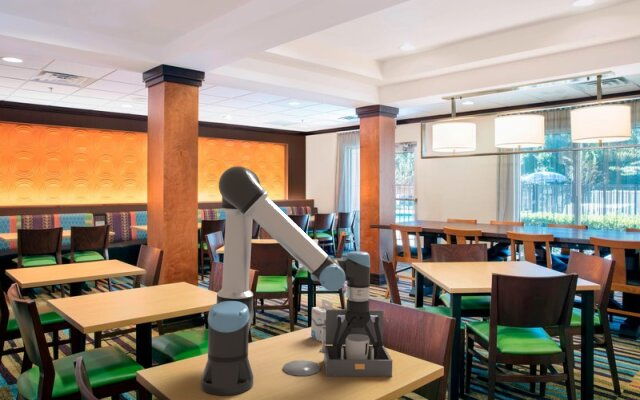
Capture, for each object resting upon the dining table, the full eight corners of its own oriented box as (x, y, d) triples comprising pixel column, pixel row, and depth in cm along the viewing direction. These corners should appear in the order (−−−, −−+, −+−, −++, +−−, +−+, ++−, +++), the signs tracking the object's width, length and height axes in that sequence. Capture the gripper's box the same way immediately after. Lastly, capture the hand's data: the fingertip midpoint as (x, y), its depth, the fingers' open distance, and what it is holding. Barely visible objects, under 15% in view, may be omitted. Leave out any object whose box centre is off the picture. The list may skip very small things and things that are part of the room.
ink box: (310, 336, 187) (311, 299, 187) (321, 335, 190) (322, 298, 190) (321, 342, 180) (322, 304, 180) (332, 341, 182) (333, 303, 182)
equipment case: (323, 376, 146) (324, 321, 146) (320, 358, 162) (322, 309, 162) (392, 377, 147) (393, 322, 147) (383, 359, 163) (384, 309, 163)
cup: (367, 373, 150) (368, 342, 149) (342, 371, 151) (343, 340, 151) (370, 364, 157) (370, 335, 157) (346, 362, 159) (346, 333, 159)
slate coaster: (282, 375, 146) (282, 373, 146) (283, 362, 158) (283, 360, 158) (321, 375, 147) (321, 374, 147) (319, 362, 159) (319, 360, 159)
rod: (319, 351, 169) (319, 349, 169) (319, 351, 170) (319, 348, 170) (343, 351, 170) (343, 349, 170) (343, 351, 171) (343, 348, 171)
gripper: (325, 301, 150) (324, 371, 150) (393, 301, 151) (392, 371, 151) (324, 296, 157) (322, 363, 158) (388, 296, 158) (387, 363, 159)
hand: (356, 367), depth 154 cm, fingers open, 9 cm apart
